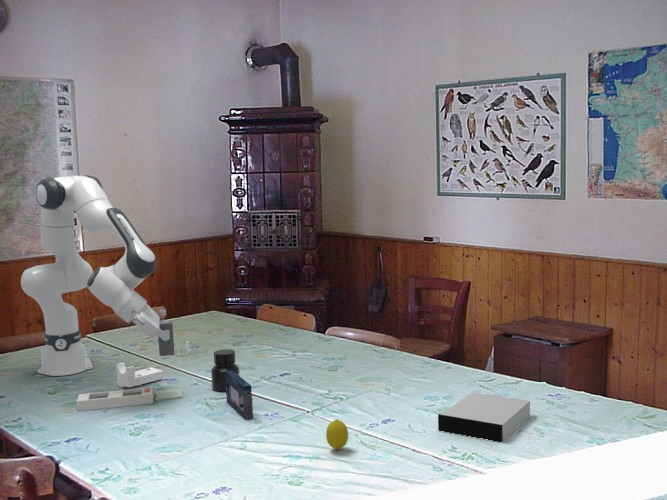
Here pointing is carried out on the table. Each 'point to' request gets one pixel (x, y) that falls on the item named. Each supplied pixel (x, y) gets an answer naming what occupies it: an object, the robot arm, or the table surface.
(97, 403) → the power strip
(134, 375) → the bracket
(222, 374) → the ink bottle
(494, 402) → the disc drive
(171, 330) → the grey square pillar
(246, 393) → the vhs cassette tape
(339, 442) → the lemon
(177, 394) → the felt pad
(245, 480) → the table surface
